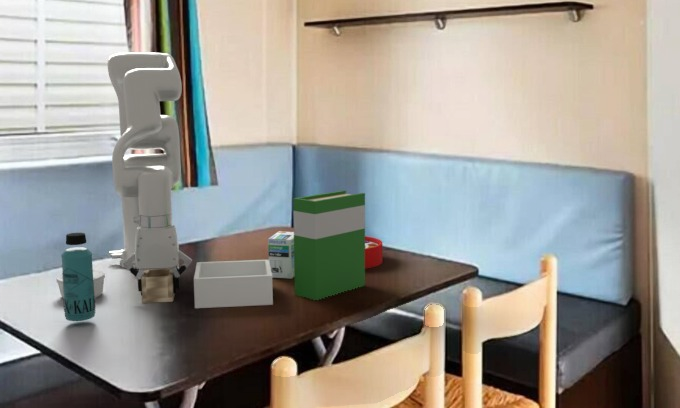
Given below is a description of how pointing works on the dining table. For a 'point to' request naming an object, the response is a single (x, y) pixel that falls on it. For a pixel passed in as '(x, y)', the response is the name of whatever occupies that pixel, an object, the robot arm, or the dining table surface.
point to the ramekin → (97, 278)
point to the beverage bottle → (78, 280)
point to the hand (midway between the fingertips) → (159, 292)
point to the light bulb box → (281, 254)
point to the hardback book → (329, 244)
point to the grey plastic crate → (233, 283)
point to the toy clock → (373, 252)
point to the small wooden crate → (157, 286)
